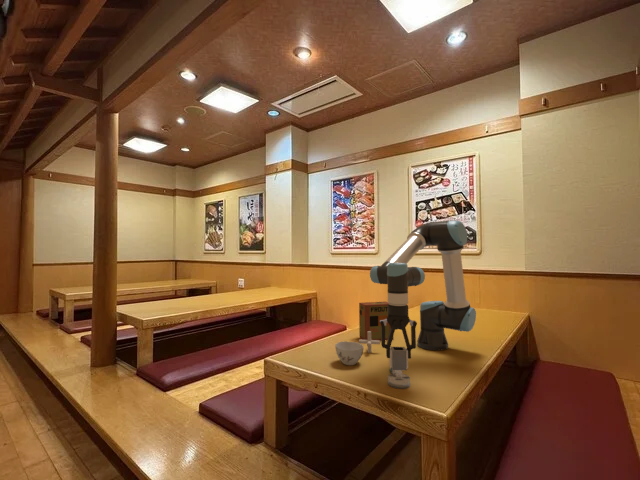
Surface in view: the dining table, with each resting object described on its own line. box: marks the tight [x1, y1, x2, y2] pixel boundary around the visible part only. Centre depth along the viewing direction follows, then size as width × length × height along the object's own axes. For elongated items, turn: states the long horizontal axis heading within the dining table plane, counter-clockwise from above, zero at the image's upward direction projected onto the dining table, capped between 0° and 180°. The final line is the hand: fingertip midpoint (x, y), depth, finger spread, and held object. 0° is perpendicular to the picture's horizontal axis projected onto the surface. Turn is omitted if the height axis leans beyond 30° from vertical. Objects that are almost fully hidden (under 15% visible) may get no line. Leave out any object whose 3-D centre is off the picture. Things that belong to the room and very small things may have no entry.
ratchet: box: [387, 367, 411, 390], centre depth 124 cm, size 8×20×7 cm, turn 174°
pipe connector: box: [358, 331, 381, 354], centre depth 156 cm, size 10×10×10 cm
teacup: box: [334, 341, 364, 366], centre depth 142 cm, size 15×12×8 cm
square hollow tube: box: [390, 346, 407, 371], centre depth 119 cm, size 5×5×7 cm
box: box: [358, 301, 394, 342], centre depth 181 cm, size 17×9×20 cm, turn 104°
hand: (398, 366), depth 119 cm, fingers closed on square hollow tube, 5 cm apart
